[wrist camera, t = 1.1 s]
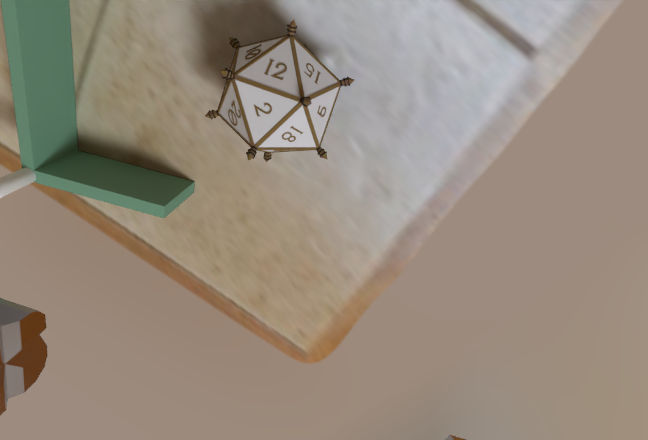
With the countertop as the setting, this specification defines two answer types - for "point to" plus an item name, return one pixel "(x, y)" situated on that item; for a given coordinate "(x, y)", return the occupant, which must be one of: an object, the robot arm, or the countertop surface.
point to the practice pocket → (67, 119)
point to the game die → (278, 96)
